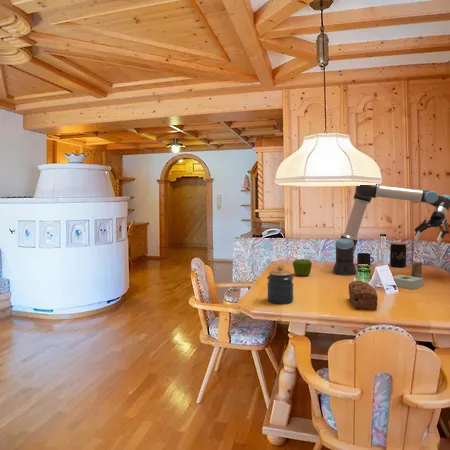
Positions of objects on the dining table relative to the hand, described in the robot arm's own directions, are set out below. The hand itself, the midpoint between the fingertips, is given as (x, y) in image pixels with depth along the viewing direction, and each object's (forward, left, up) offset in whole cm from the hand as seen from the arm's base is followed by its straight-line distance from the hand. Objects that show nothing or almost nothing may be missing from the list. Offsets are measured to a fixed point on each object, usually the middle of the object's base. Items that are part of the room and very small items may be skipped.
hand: (426, 240), depth 219 cm
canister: (-24, -103, -25) cm, 108 cm away
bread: (+6, -77, -25) cm, 81 cm away
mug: (-53, +18, -25) cm, 61 cm away
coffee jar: (-35, +32, -25) cm, 53 cm away
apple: (-59, -47, -25) cm, 79 cm away
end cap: (-1, -24, -24) cm, 34 cm away
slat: (-1, -11, -24) cm, 27 cm away
